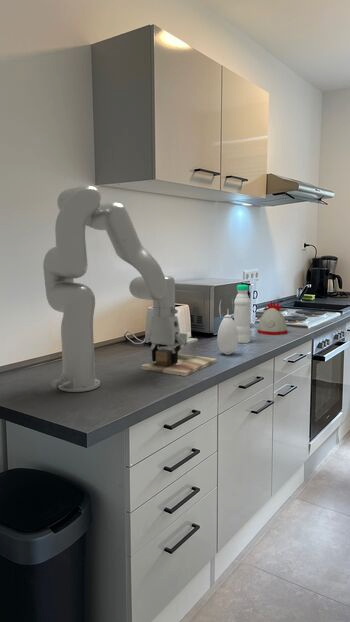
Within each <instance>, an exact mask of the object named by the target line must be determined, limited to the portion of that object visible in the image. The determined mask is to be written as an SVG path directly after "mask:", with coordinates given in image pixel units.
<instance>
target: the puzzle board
mask: <svg viewBox="0 0 350 622" xmlns="http://www.w3.org/2000/svg"><path fill="white" fill-rule="evenodd" d="M217 362H218V359H217V358H214V357H207V356H199V355H192V354H191V355H190V354H183V353H179V354H178V361H177V363H176V364H174V365H172V366H170V367H162V366H156V361H155V362H153V361H152V360H151V361H150V362H147V363H145V364H142V365H140V369H141V370H144V371H152V372H157V373H163V374H169V375H174V374H175V376H180V375H181V377H187V376H189V375H192V374H193V372H194V373H196V372H198V371H201V370H202V369H204V368H206V367H209V366H211V365H212V364H215V363H217ZM195 371H196V372H195Z"/></svg>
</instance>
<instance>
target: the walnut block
mask: <svg viewBox="0 0 350 622" xmlns="http://www.w3.org/2000/svg"><path fill="white" fill-rule="evenodd" d="M171 353H172V350H168V348H167V349H166V348H161V349H159V350H158V351H156V366H162V367H170V366H172V364H171ZM173 365H174V364H173Z"/></svg>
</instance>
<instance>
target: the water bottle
mask: <svg viewBox="0 0 350 622" xmlns="http://www.w3.org/2000/svg"><path fill="white" fill-rule="evenodd" d="M236 290H237V294H236V296H235V299H234V301H233V303H234V309H233V320H234V322H235V325H236V327H237V331H238V344H248V343H250V342H251V302H252V301H251V299H250V297H249V294H248V291H249V285H248V284H238V285H237V286H236Z"/></svg>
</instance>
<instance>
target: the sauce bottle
mask: <svg viewBox="0 0 350 622" xmlns="http://www.w3.org/2000/svg"><path fill="white" fill-rule="evenodd" d="M216 338H217V345H218V348H219V350H220V352H221V353H222V354H225V355H226V356H227V355H228V356H229V355H231V354H233V352H235V351H236V350H237V347H238V344H239V343H238V331H237V327H236V325H235V322H234V318H232V315H231V314H230V313H229V309H227V314H226V315H224V317H223V319H222V320H221V322H220V325H219V327H218V331H217V337H216Z"/></svg>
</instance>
